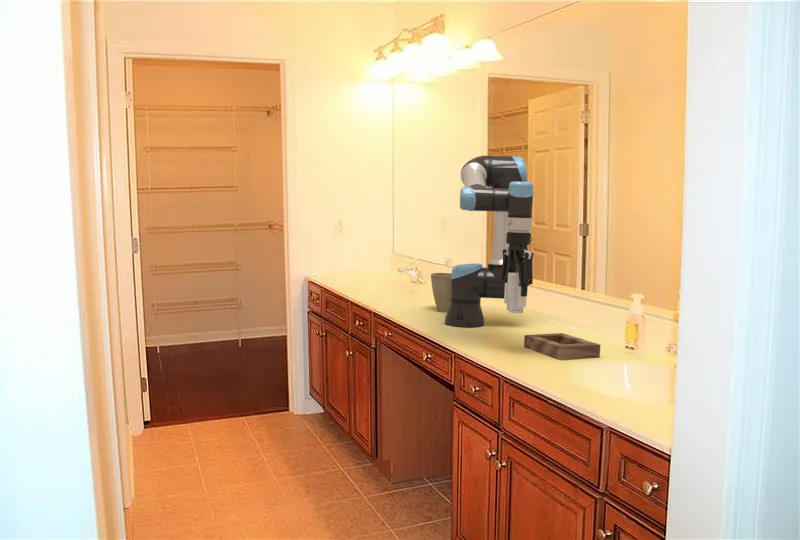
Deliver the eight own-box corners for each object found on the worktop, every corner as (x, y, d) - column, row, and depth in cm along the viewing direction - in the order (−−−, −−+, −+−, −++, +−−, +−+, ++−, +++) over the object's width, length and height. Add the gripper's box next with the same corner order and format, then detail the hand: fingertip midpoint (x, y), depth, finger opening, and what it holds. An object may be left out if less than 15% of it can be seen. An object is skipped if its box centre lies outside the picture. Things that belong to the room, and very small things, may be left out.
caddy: (523, 347, 216) (524, 335, 215) (561, 344, 222) (562, 333, 221) (560, 360, 198) (560, 347, 198) (599, 357, 204) (600, 344, 204)
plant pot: (425, 312, 281) (426, 275, 279) (434, 307, 295) (435, 272, 293) (459, 315, 276) (461, 277, 275) (466, 310, 290) (468, 274, 289)
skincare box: (523, 313, 205) (526, 274, 203) (509, 313, 204) (512, 274, 203) (519, 309, 211) (521, 272, 209) (505, 309, 211) (507, 271, 209)
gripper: (491, 229, 213) (488, 300, 215) (526, 233, 195) (522, 310, 197) (511, 230, 216) (507, 299, 218) (547, 233, 198) (543, 309, 200)
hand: (514, 304), depth 207 cm, fingers closed on skincare box, 7 cm apart
